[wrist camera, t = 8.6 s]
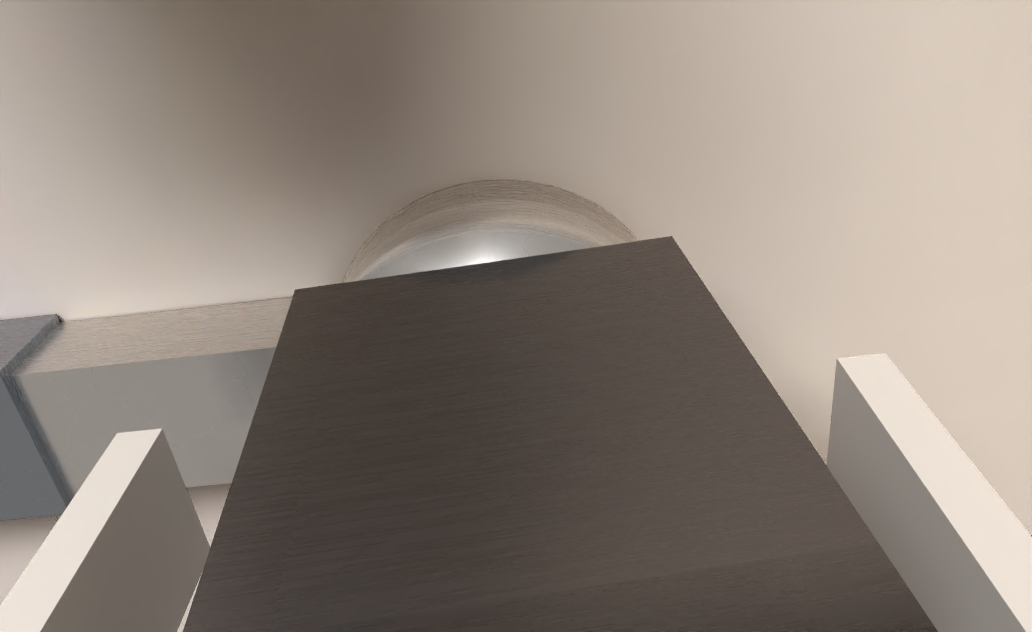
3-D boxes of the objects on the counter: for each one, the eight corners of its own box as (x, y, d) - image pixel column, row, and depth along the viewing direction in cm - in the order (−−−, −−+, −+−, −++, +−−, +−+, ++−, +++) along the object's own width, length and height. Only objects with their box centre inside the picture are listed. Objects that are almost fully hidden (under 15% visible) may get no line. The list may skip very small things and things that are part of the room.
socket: (371, 565, 16) (322, 1124, 9) (295, 290, 13) (129, 793, 6) (677, 519, 16) (874, 1030, 9) (671, 236, 13) (958, 662, 6)
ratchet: (-325, 553, 20) (-664, 834, 14) (-540, 296, 16) (-1104, 529, 10) (672, 453, 19) (748, 709, 13) (665, 159, 15) (764, 332, 10)
